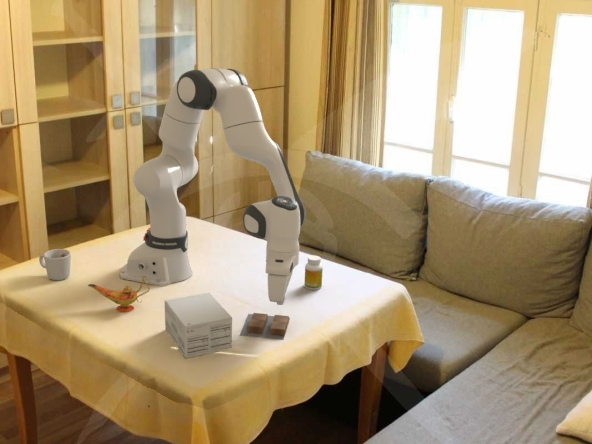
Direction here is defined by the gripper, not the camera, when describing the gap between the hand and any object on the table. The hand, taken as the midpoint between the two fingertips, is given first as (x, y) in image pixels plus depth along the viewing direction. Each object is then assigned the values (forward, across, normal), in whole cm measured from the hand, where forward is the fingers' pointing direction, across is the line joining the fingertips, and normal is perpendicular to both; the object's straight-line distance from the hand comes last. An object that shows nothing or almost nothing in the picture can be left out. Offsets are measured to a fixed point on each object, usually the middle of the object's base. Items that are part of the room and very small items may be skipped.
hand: (280, 302), depth 207 cm
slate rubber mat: (+7, +3, -4) cm, 8 cm away
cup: (+8, -18, -74) cm, 76 cm away
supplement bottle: (+7, -27, +6) cm, 29 cm away
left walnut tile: (+5, -1, -6) cm, 8 cm away
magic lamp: (+7, -1, -47) cm, 47 cm away
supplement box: (+7, +12, -20) cm, 25 cm away
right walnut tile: (+5, -1, 0) cm, 5 cm away
